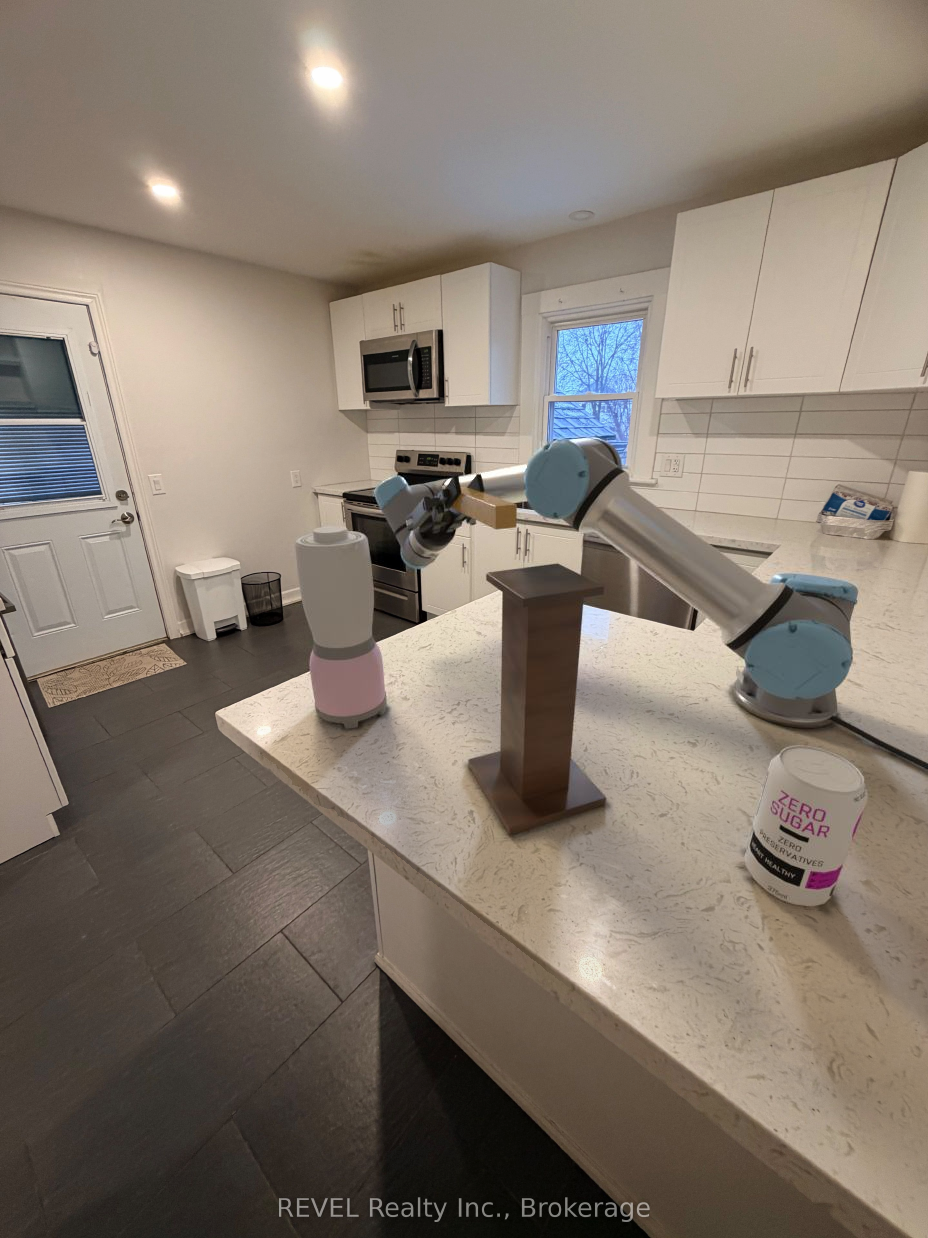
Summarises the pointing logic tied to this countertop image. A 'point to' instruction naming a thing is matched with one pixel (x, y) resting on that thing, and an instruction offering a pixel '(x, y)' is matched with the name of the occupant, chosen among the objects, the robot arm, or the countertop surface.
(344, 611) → the blender
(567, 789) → the brown pedestal stand
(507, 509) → the golden brown bar
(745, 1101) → the countertop surface
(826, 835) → the supplement can
